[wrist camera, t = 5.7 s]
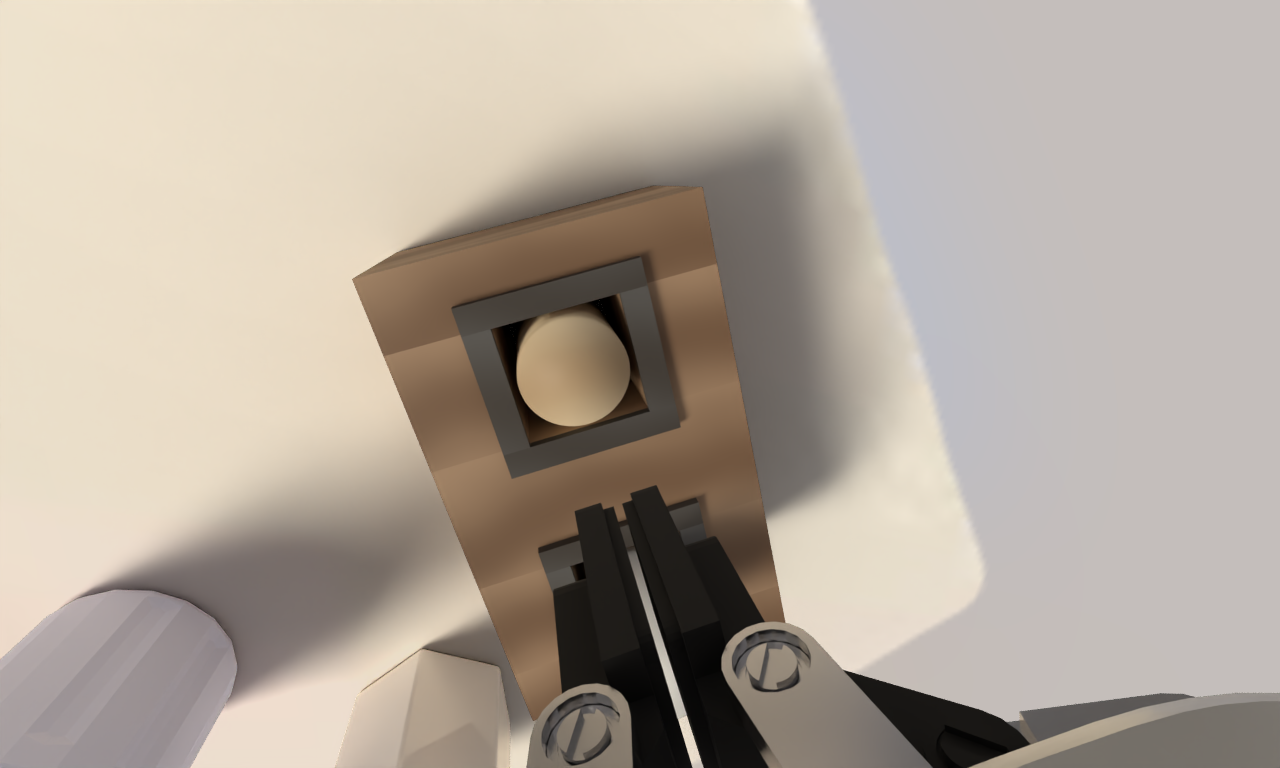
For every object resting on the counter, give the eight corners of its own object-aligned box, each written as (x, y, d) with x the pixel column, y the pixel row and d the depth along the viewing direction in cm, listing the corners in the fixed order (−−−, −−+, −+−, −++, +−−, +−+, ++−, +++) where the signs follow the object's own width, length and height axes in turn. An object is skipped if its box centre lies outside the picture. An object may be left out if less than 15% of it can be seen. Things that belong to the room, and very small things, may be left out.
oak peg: (504, 296, 28) (501, 336, 20) (589, 273, 28) (614, 304, 21) (530, 376, 29) (535, 439, 22) (610, 353, 29) (641, 408, 22)
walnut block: (396, 252, 27) (349, 281, 19) (653, 185, 28) (705, 187, 20) (529, 602, 34) (533, 728, 26) (729, 537, 35) (790, 638, 27)
